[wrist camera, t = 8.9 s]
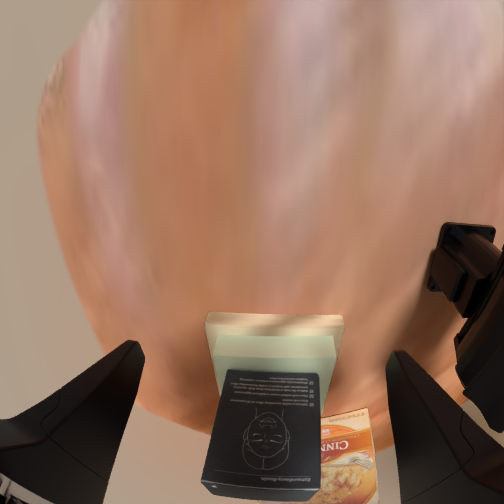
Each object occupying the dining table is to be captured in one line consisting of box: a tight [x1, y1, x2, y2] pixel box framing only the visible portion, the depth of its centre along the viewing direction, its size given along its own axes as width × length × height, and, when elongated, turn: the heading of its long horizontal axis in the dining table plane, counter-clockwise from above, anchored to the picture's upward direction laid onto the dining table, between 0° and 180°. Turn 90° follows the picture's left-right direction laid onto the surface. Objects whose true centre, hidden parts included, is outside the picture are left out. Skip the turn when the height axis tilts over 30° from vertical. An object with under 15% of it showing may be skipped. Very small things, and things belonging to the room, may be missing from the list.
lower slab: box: [205, 312, 345, 397], centre depth 27 cm, size 12×12×2 cm
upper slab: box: [213, 334, 336, 415], centre depth 25 cm, size 10×10×2 cm
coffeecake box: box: [257, 408, 379, 504], centre depth 26 cm, size 15×7×20 cm, turn 113°
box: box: [201, 369, 321, 502], centre depth 18 cm, size 8×6×11 cm
